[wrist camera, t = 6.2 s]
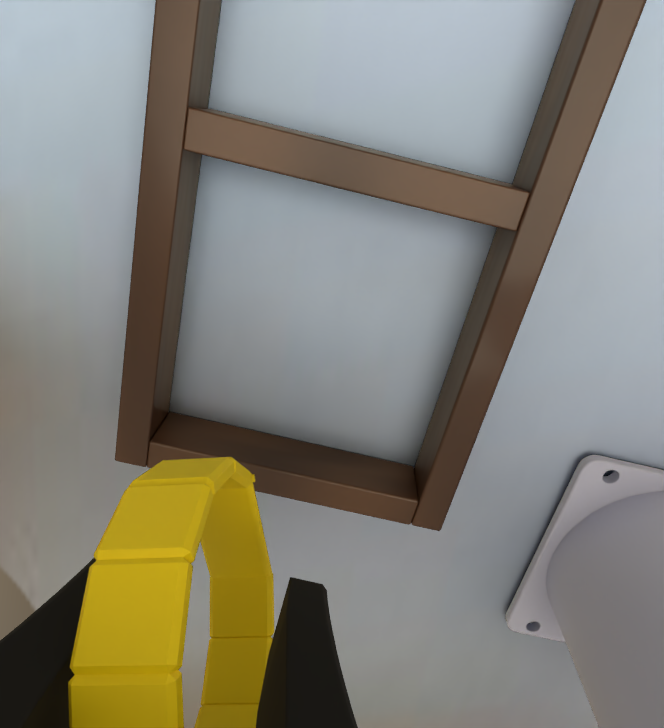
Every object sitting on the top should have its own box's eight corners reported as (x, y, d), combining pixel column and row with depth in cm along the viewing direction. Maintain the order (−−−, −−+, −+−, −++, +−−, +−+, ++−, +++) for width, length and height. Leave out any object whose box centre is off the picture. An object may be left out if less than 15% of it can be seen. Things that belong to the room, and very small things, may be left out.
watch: (141, 410, 11) (-70, 682, 6) (279, 402, 11) (189, 679, 6) (198, 631, 14) (85, 972, 8) (312, 628, 13) (274, 979, 8)
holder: (714, -264, 12) (777, -332, 10) (433, 494, 20) (440, 532, 18) (225, -407, 12) (199, -506, 10) (137, 428, 20) (114, 461, 18)
